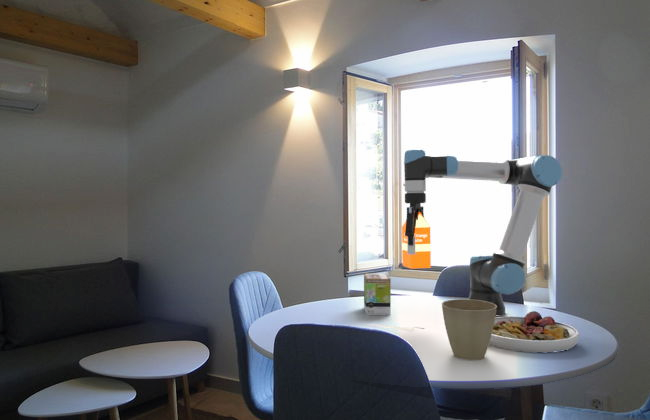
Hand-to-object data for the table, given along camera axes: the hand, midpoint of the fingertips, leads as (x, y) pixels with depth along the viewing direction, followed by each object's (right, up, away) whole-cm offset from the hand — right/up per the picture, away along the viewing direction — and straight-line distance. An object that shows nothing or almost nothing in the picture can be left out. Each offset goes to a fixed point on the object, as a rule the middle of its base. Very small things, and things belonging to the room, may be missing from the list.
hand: (415, 252), depth 187 cm
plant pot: (+8, -27, -43) cm, 51 cm away
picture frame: (-13, -26, -12) cm, 32 cm away
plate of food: (+30, -27, -26) cm, 48 cm away
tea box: (-12, -26, +21) cm, 35 cm away
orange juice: (0, -5, +1) cm, 5 cm away
